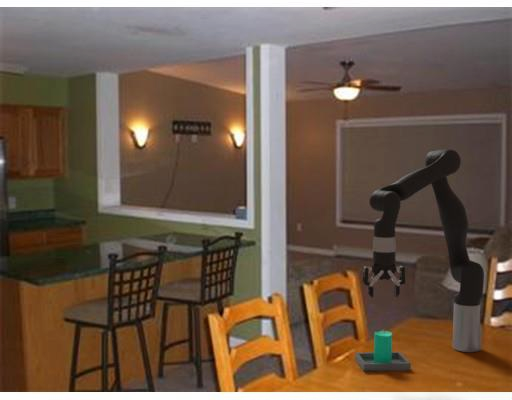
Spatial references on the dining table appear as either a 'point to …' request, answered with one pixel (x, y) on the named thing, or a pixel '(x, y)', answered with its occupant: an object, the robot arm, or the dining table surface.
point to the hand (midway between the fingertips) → (383, 296)
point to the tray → (368, 363)
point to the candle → (383, 347)
